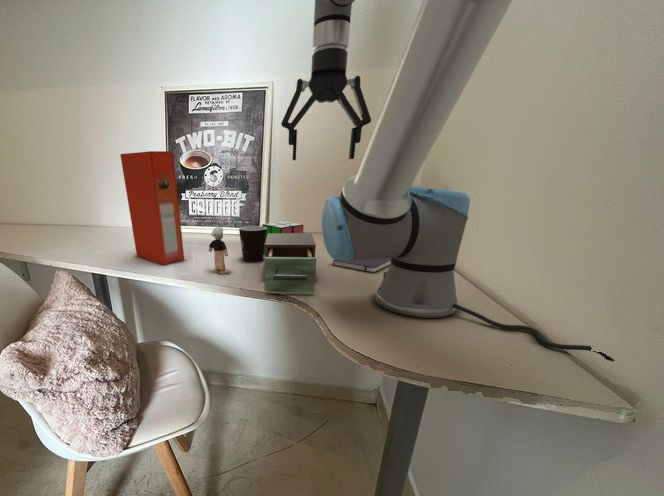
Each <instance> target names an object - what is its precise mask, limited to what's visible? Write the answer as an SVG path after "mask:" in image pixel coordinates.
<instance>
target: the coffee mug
mask: <svg viewBox="0 0 664 496" xmlns="http://www.w3.org/2000/svg"><path fill="white" fill-rule="evenodd" d="M266 229H267V228H266V227H262V225H247V226H241V227H239V228H238V231H239V240H240V247H241V254H242V261H244V262H246V263H259V262H262V261H263V260H264V256H265V254H264V246H265V238H266Z"/></svg>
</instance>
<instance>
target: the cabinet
mask: <svg viewBox="0 0 664 496" xmlns="http://www.w3.org/2000/svg"><path fill="white" fill-rule="evenodd" d="M316 247H317V244H316V242H315V240H314V236H313V233H312V232H303V233H268V235H267V239H266V242H265V254H264V258H265V257H268V256H269V251H270V248H310V251H311V254H312V257H316Z"/></svg>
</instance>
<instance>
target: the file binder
mask: <svg viewBox="0 0 664 496" xmlns="http://www.w3.org/2000/svg"><path fill="white" fill-rule="evenodd" d="M119 156H120V161H121V168H122V173H123V174H122V175H123V180H124V186H125V191H126V198H127V199H126V200H127V203H128V210H129V211H128V212H129V216H130V223H131V229H132V235H133V240H134V247H135V253H136V256H137V257H138V258H142V259H145V260H147V261H151V262H153V263H156V264H159V265H163V266H166V265H167V266H168V265H170V264H174V263H175V264H176V263H178V262H183V261H184V260H185V254H184V243H183V242H184V241H183V235H182V225H181V215H180V206H179V195H178V186H177V177H176V176H177V175H176V167H175V166H176V165H175V158H174V151H173V150H171V151H169V150H168V151H167V150H166V151H165V150H161V151H160V150H159V151H157V150H152V151H151V150H150V151H139V152H127V153H121V154H119Z"/></svg>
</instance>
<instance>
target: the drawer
mask: <svg viewBox="0 0 664 496" xmlns="http://www.w3.org/2000/svg"><path fill="white" fill-rule="evenodd" d="M316 268H317V257H316V256H315V257H312V254H311V251H310V248H270V251H269V256H268V257H265V256H264V281H263V282H264V289H263V290H264V292H293V293H295V292H296V293H297V292H299V293H315V283H316Z"/></svg>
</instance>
